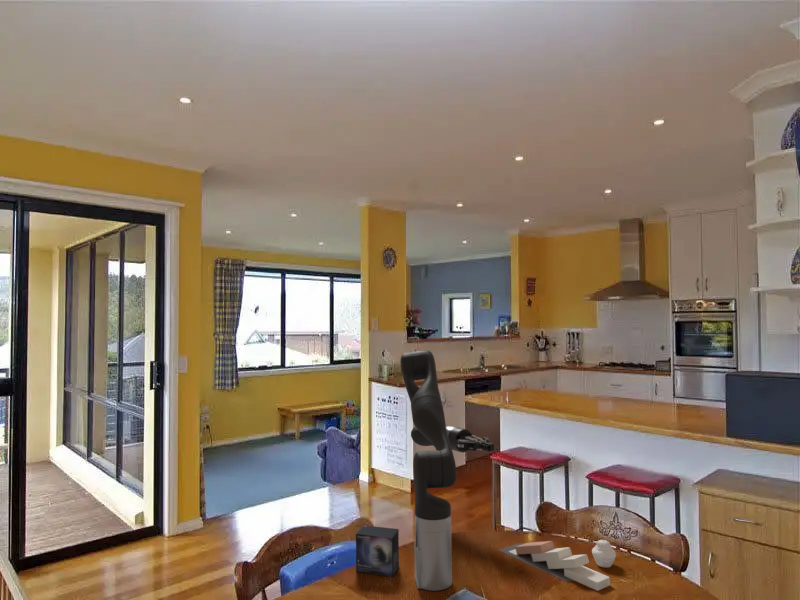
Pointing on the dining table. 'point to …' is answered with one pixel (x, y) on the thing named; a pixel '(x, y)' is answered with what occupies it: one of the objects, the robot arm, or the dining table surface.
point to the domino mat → (538, 564)
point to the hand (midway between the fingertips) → (492, 447)
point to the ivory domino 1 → (552, 554)
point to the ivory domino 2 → (568, 562)
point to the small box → (377, 550)
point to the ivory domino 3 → (588, 577)
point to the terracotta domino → (534, 547)
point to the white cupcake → (603, 554)
